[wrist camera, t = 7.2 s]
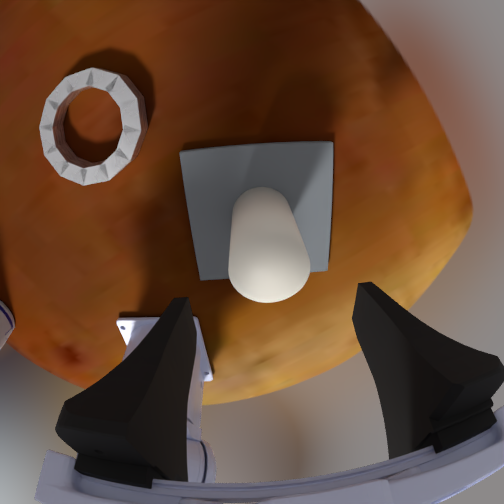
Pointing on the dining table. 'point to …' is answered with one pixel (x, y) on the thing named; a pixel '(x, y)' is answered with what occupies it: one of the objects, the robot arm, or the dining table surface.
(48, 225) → the dining table surface
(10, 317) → the energy drink
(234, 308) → the dining table surface
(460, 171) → the dining table surface
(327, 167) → the mat
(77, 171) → the ring
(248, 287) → the peg
